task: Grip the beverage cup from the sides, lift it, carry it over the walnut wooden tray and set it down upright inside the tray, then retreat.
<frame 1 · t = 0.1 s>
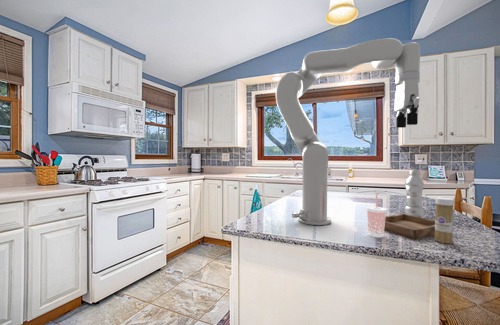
hand: (406, 126, 93), 37 cm above the counter, tool pointing down, fingers open, 9 cm apart
sprinkles bottle: (443, 242, 78), on the counter
beverage cup: (375, 235, 84), on the counter
plastic bottle: (413, 218, 107), on the counter
walnut tray: (408, 229, 90), on the counter
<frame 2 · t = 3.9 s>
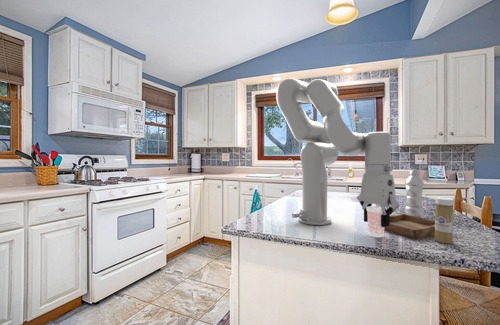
hand: (376, 223, 84), 4 cm above the counter, tool pointing down, fingers closed on beverage cup, 6 cm apart
beverage cup: (375, 235, 84), on the counter, touching gripper
everything else where it was.
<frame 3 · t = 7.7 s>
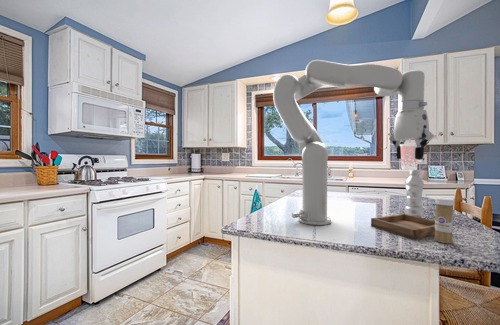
hand: (409, 158, 89), 25 cm above the counter, tool pointing down, fingers closed on beverage cup, 6 cm apart
beverage cup: (409, 170, 89), point 21 cm above the counter, touching gripper
everything else where it was.
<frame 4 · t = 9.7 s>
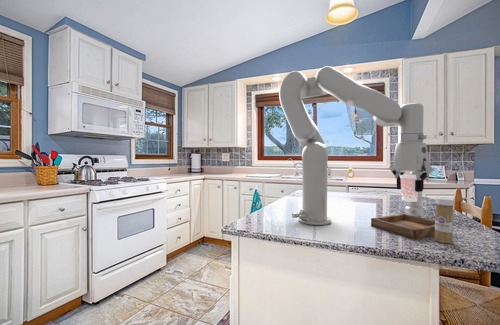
hand: (409, 189, 90), 14 cm above the counter, tool pointing down, fingers closed on beverage cup, 6 cm apart
beverage cup: (409, 201, 90), point 10 cm above the counter, touching gripper
everything else where it was.
when the fingers open (6 cm above the counter, at t = 11.7 s): beverage cup drops 1 cm, resting on walnut tray.
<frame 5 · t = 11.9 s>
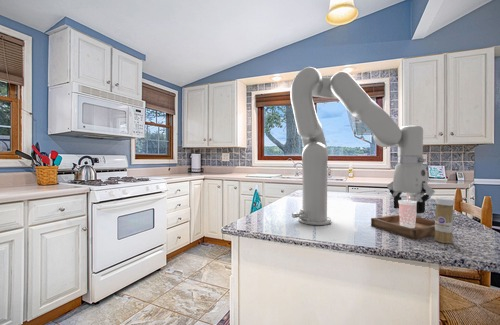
hand: (408, 210, 90), 7 cm above the counter, tool pointing down, fingers open, 7 cm apart
beverage cup: (407, 226, 90), point 1 cm above the counter, touching walnut tray
everything else where it was.
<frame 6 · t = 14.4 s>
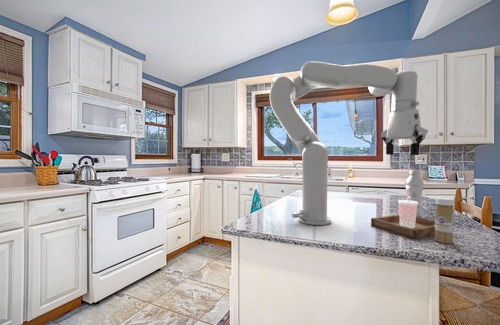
hand: (401, 154, 92), 27 cm above the counter, tool pointing down, fingers open, 9 cm apart
nothing on the counter moved.
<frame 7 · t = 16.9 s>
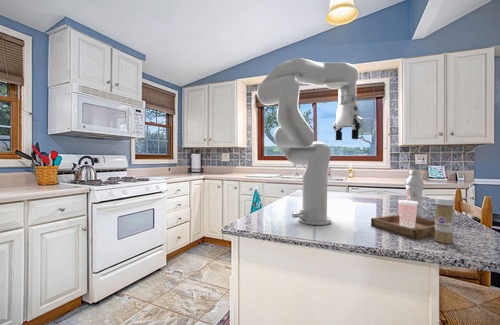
hand: (346, 139, 114), 33 cm above the counter, tool pointing down, fingers open, 9 cm apart
nothing on the counter moved.
at the end: beverage cup inside the target area on the walnut tray (0.2 cm from its centre), point 0.8 cm above the walnut tray's base; beverage cup tilted 0°; the gripper is holding nothing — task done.
